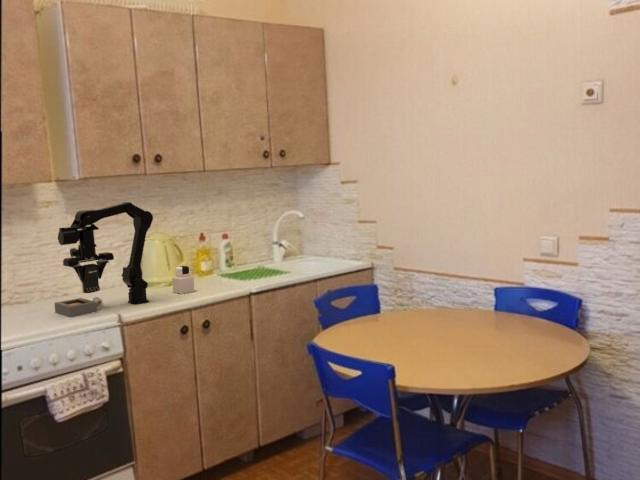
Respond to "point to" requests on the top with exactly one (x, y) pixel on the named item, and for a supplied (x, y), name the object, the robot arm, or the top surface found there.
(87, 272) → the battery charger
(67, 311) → the grey open box
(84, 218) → the robot arm
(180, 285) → the grey stepped upright block
